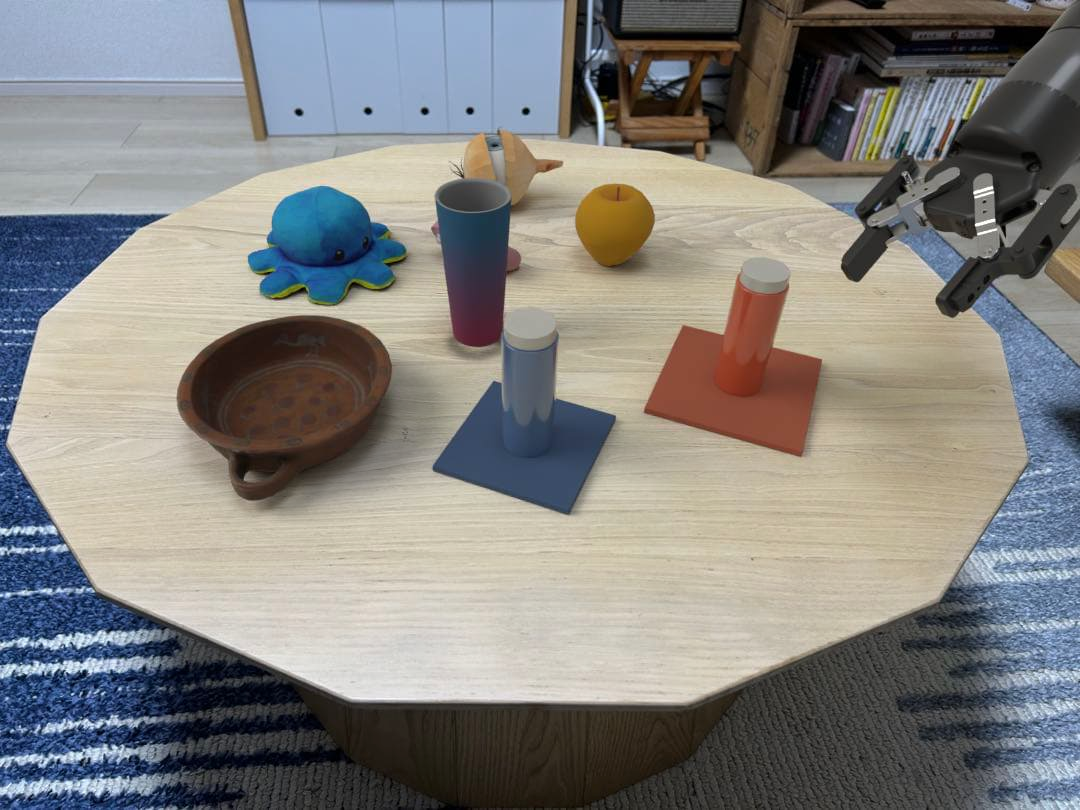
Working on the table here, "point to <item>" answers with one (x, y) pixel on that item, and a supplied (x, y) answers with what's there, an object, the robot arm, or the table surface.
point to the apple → (614, 222)
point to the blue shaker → (529, 381)
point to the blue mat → (530, 479)
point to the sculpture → (503, 162)
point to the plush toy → (324, 247)
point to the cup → (475, 255)
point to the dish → (284, 395)
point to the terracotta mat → (756, 418)
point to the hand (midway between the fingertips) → (892, 291)
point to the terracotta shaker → (752, 325)
